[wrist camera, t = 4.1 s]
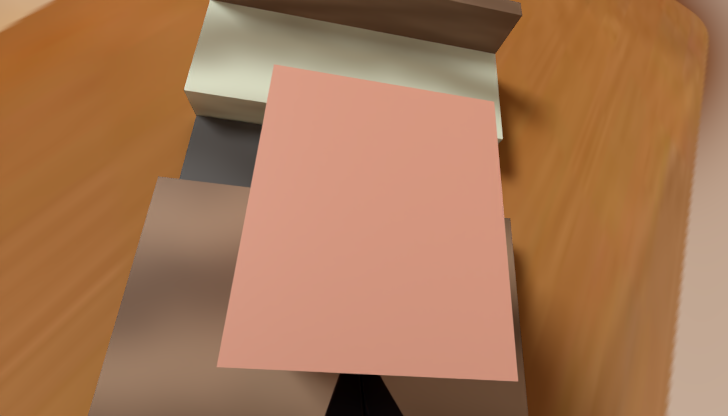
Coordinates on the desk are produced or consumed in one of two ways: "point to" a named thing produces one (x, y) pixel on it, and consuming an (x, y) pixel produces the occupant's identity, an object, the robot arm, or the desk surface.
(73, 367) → the desk surface
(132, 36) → the desk surface
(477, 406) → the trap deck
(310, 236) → the brick block
